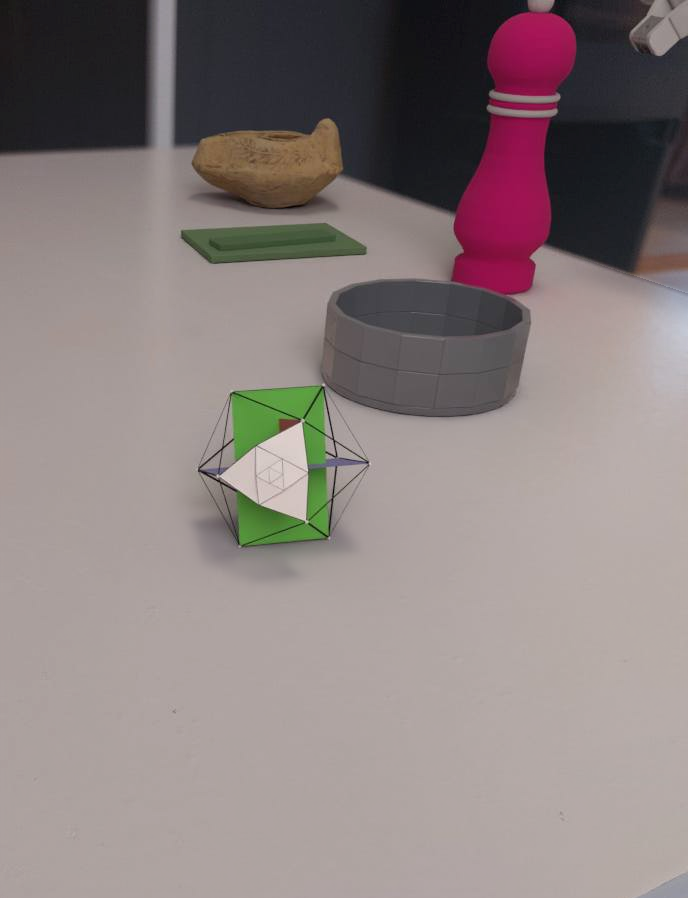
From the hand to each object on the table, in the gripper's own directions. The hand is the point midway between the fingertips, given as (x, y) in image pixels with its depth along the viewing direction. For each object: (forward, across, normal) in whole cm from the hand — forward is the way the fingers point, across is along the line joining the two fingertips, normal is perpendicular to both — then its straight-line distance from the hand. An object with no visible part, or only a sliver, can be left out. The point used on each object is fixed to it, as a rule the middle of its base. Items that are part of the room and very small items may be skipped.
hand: (642, 47), depth 74 cm
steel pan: (+27, +20, -4) cm, 34 cm away
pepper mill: (+18, 0, +6) cm, 19 cm away
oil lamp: (+26, -30, -3) cm, 40 cm away
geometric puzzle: (+36, +38, -12) cm, 54 cm away
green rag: (+28, -13, -5) cm, 31 cm away
